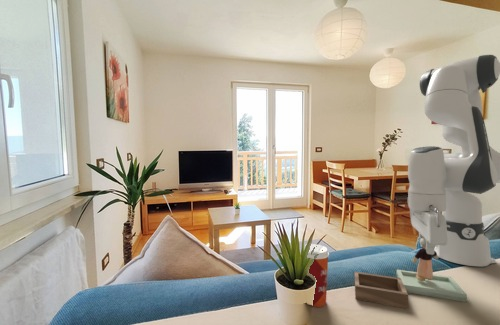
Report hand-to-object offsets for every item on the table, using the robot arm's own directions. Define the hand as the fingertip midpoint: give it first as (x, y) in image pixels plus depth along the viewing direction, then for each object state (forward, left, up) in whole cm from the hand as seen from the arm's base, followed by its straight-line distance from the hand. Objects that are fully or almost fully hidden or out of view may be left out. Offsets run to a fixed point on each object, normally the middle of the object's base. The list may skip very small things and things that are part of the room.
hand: (427, 250), depth 69 cm
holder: (+9, -13, -11) cm, 19 cm away
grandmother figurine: (-2, 0, -9) cm, 9 cm away
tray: (0, 0, -11) cm, 11 cm away
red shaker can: (+18, -29, -11) cm, 36 cm away
